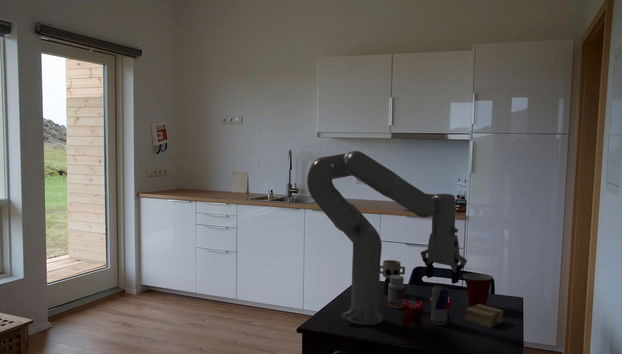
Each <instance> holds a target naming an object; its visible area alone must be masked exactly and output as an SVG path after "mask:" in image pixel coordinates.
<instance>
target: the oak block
mask: <svg viewBox="0 0 622 354" xmlns="http://www.w3.org/2000/svg"><path fill="white" fill-rule="evenodd" d="M465 321H466V322H470V323H474V324H476V325H480V326H483V327H487V328H492V327H494V326H497V325H498V324H501V323H503V321H504V310H503V309H500V308H496V307H492V306H487V305H486V306H485V305H481V304H477V305H475V306H472V307H470V306H469V307H468V308H465Z"/></svg>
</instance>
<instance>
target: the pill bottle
mask: <svg viewBox="0 0 622 354" xmlns="http://www.w3.org/2000/svg"><path fill="white" fill-rule="evenodd" d="M404 279H405V277H404V276H403V275H401V274H400V275H391V276H390V283H389V285H388V293H387V306H388V307H389V308H391V309H395V310H396V309H403V308H404V307H403V300H404V301H405V294H406V293H405V292H406V286H405V284H404Z"/></svg>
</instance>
